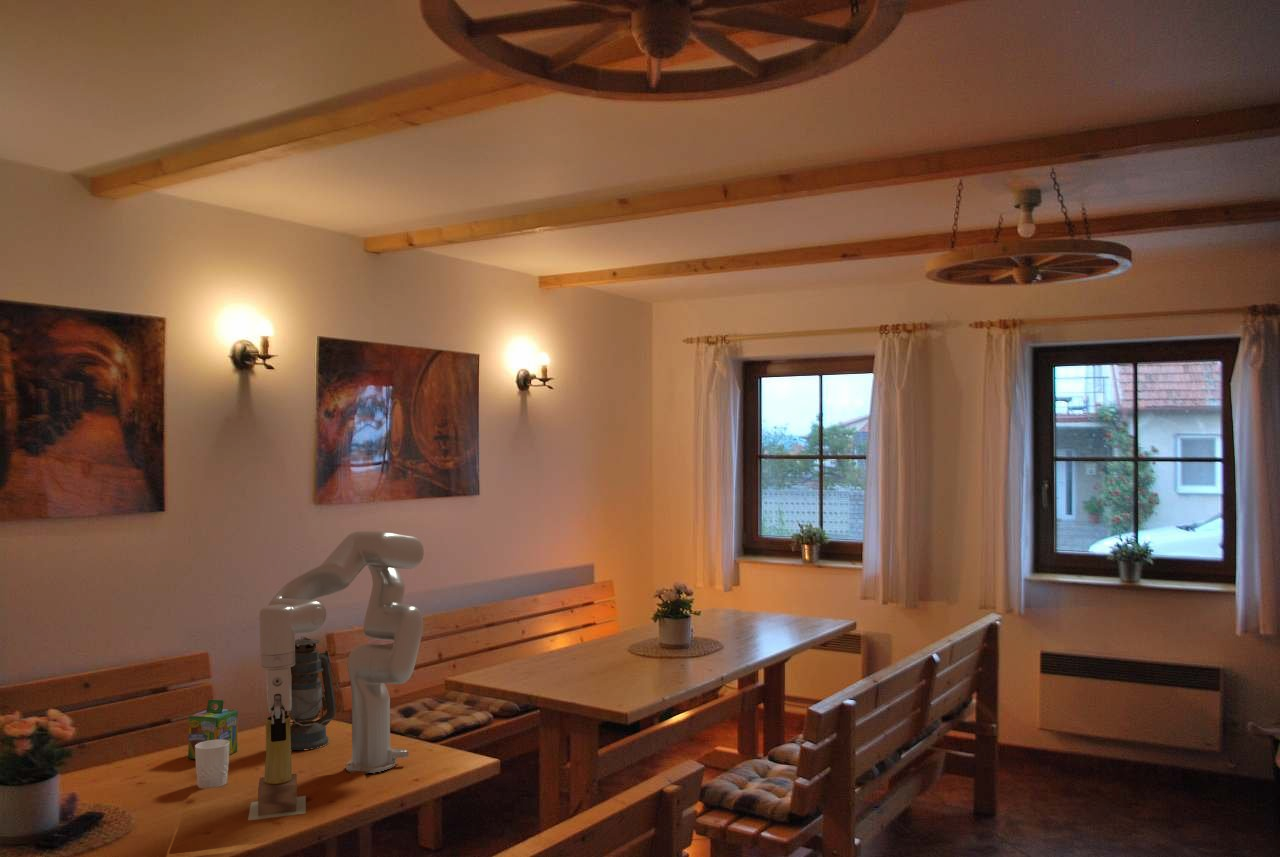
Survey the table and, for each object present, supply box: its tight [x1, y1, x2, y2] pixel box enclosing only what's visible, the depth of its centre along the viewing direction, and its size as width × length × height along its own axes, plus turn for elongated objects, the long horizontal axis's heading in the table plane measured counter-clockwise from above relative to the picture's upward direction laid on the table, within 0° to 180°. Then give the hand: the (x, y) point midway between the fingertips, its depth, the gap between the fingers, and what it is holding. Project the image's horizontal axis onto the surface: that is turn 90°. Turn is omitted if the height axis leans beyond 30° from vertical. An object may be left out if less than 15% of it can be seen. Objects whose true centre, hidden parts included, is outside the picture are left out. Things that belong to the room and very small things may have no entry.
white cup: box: [194, 739, 230, 790], centre depth 243 cm, size 8×8×10 cm
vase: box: [263, 714, 293, 784], centre depth 225 cm, size 6×6×14 cm
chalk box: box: [187, 699, 239, 760], centre depth 267 cm, size 9×9×15 cm
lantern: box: [288, 636, 343, 750], centre depth 276 cm, size 19×14×30 cm
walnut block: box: [257, 773, 298, 816], centre depth 224 cm, size 8×8×6 cm
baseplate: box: [247, 795, 307, 821], centre depth 224 cm, size 12×12×1 cm
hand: (279, 734), depth 225 cm, fingers open, 9 cm apart
